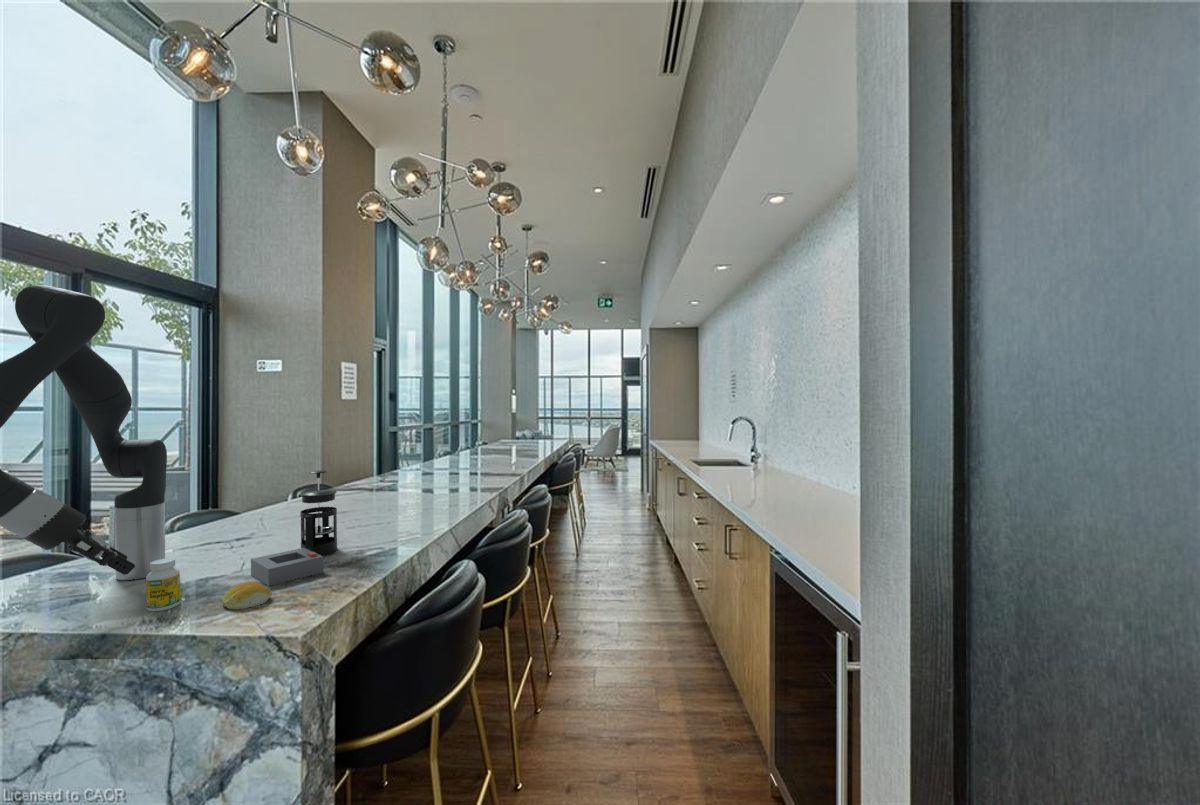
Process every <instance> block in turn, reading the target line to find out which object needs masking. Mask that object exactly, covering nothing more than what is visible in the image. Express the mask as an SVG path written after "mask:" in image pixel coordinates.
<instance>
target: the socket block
mask: <svg viewBox="0 0 1200 805" xmlns="http://www.w3.org/2000/svg"><path fill="white" fill-rule="evenodd" d="M319 573H320V574H324V556H321V555H319V554H317V553H315V552H312V551H310V550H308V549H305V548H301V547H300V548H295V549H292V550H286V551H281V552H277V553H273V554H267V555H263V556H258V557H254V558H250V576H252V577H253V578H254V579H256V580H258V581H259V582H261V583H262V582H263V585H265V584H266V587H272V586H271V585H273V586H275V584H277V585H280V584H279V583H281V584H284V583H283V582H285V583H287V582H286V581H289V582H291V581H290V580H292V581H295V579H296V580H299V579H298V578H300V579H303V578H302V577H304V578H307V577H306V576H308V577H311V576H310V575H312V576H316V575H320V574H319ZM315 574H316V575H315Z"/></svg>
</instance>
